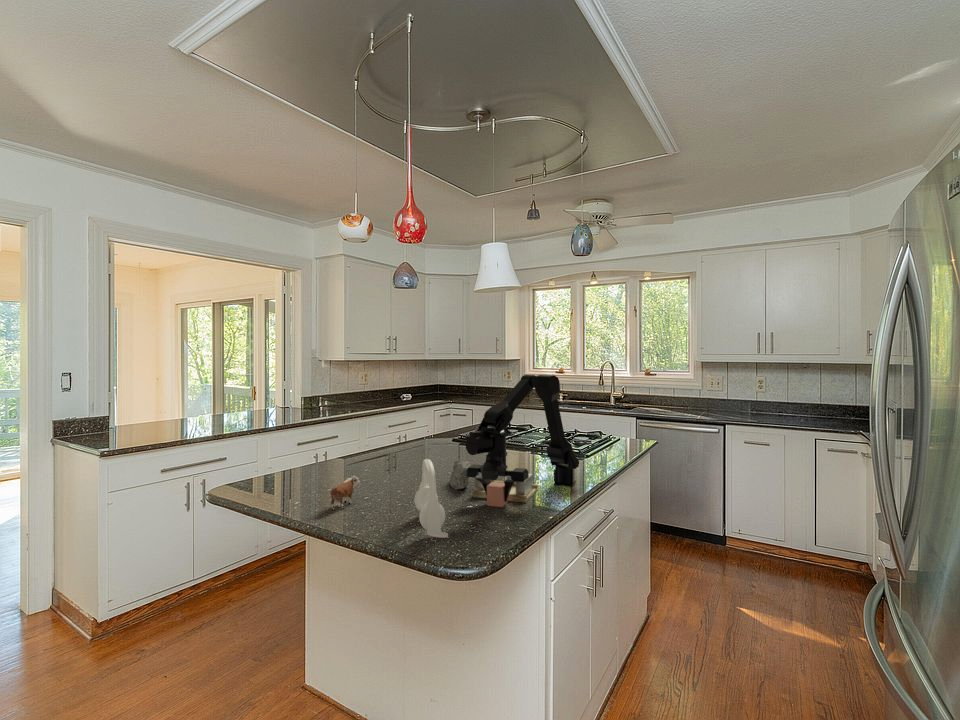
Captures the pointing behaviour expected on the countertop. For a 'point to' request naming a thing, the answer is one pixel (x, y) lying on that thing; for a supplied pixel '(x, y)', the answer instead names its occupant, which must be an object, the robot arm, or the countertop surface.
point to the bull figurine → (344, 490)
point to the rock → (459, 475)
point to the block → (496, 494)
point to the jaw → (524, 486)
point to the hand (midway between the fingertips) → (497, 500)
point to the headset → (429, 502)
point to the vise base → (512, 496)
